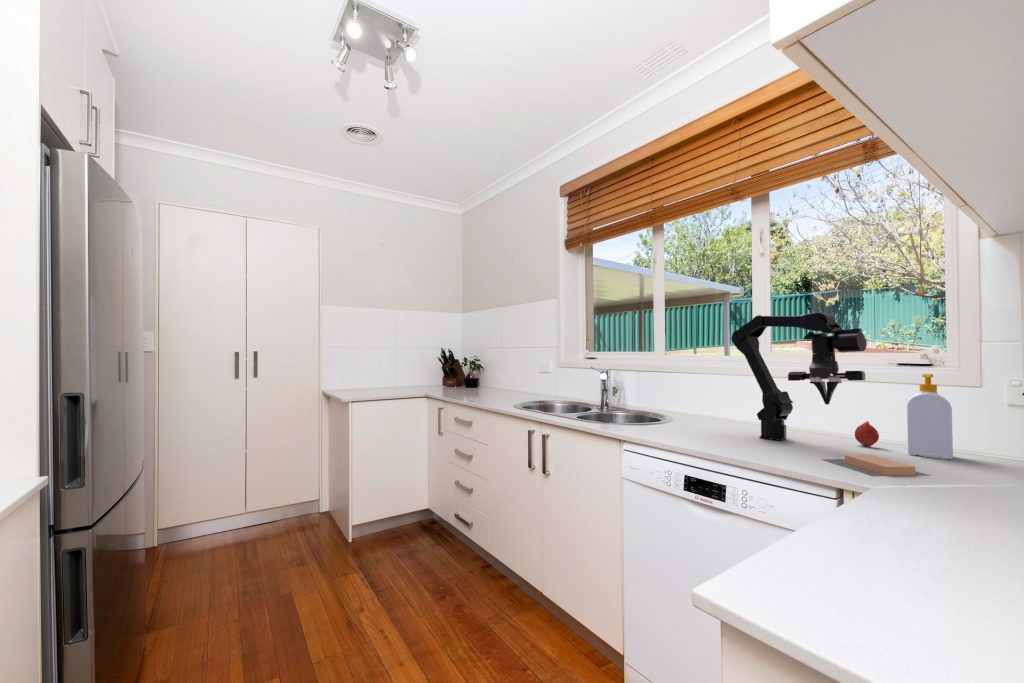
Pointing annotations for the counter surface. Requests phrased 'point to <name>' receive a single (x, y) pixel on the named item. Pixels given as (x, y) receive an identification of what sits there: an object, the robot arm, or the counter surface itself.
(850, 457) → the terracotta block
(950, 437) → the soap bottle
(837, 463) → the charcoal mat
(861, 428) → the onion
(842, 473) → the counter surface
